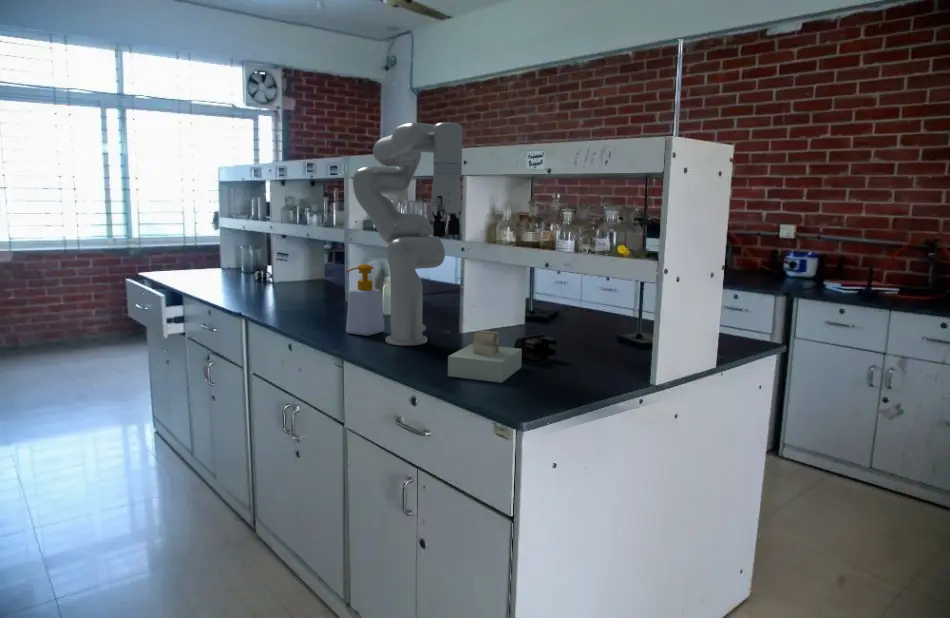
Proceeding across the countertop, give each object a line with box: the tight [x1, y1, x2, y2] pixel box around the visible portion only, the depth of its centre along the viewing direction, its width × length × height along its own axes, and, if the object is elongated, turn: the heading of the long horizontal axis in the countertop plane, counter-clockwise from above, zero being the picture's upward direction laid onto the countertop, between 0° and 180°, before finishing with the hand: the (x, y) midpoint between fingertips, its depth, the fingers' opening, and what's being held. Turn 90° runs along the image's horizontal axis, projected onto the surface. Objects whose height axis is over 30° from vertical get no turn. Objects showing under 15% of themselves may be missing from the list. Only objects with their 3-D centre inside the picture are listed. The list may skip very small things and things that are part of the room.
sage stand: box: [447, 343, 522, 383], centre depth 170 cm, size 16×14×5 cm
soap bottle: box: [345, 263, 385, 337], centre depth 212 cm, size 10×14×22 cm
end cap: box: [513, 333, 558, 366], centre depth 184 cm, size 10×7×7 cm
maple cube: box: [472, 330, 500, 355], centre depth 169 cm, size 5×5×5 cm
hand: (446, 235), depth 181 cm, fingers open, 9 cm apart
